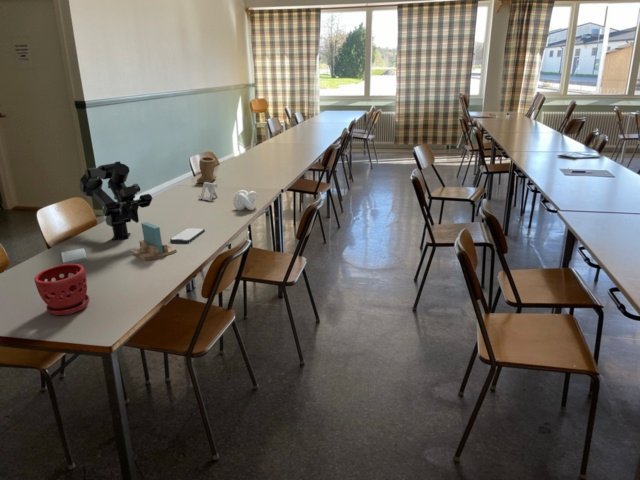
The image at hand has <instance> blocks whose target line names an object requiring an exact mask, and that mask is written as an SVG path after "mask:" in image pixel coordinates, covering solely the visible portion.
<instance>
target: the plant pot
mask: <svg viewBox="0 0 640 480" xmlns="http://www.w3.org/2000/svg"><path fill="white" fill-rule="evenodd" d="M69 274H73V275H72V276H69ZM60 275H63V277H61V276H60ZM33 279H34V282H35V286H36V289H37V291H38V294H39V296H40V298H41V299H42V301H43V302H44V303H45V304H46V310H47V312H48V313H50V314H51V315H56V316H64V315H72V314H74V313H76V312H79V311H81V310H83V309H84V308H85V307H86V306H87V305H88V304H89V302H90V298H91V297H90V296H89V295H88V294H87V292H88V285H87V284H88V283H87V274H86V269H85V268H84V266H83V265H81V264H79V263H72V264H64V265H63V264H60V265H54V266H52V267H49V268H47V269H44V270H42V271H41V272H39V273H38V274H36V275H35V277H34V278H33ZM52 279H54V280H52ZM46 280H47V281H46Z"/></svg>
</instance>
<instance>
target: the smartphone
mask: <svg viewBox="0 0 640 480" xmlns="http://www.w3.org/2000/svg"><path fill="white" fill-rule="evenodd" d="M204 232H206V230H205V228H196V227H194V228H193V227H188V228H185V229H183V230H182V231H181V232H178V233H177V234H175V236H173V237H171V238H170V239H169V241H170V243H172V242H176V243H175V244H190V243H192V242H193V241H194V240H195V238H196V237H197V238H198V237H200V236H201V235H202V234H203V233H204ZM199 235H200V236H199ZM197 238H196V239H197ZM192 240H193V241H192ZM177 242H178V243H177ZM189 242H190V243H189Z"/></svg>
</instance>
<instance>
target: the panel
mask: <svg viewBox="0 0 640 480" xmlns="http://www.w3.org/2000/svg"><path fill="white" fill-rule="evenodd" d="M160 228H161V227H159V226H158V225H155V224H153V223H150V222H147V221H145V222H141V229H142V236H143V240H144V242H147V243H149V244H151V245H153V246H155V247H158V252H159V253H162V252H163V248H162V243H163V241H162V235H161V229H160Z"/></svg>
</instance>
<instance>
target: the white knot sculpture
mask: <svg viewBox="0 0 640 480" xmlns="http://www.w3.org/2000/svg"><path fill="white" fill-rule="evenodd" d="M257 199H258V194H257V192H256V191H255V190H251V191H249V192H248V191H246V190H245V189H240V190H238V191H237V192H236V193H235V194H234V196H233V200H232V201H233V202H232V204H233V207H234V208H235V209H236V210H238V211H242V210H245V208H246V209H248V210H249V211H253V210H255V203H256V201H257Z"/></svg>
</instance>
